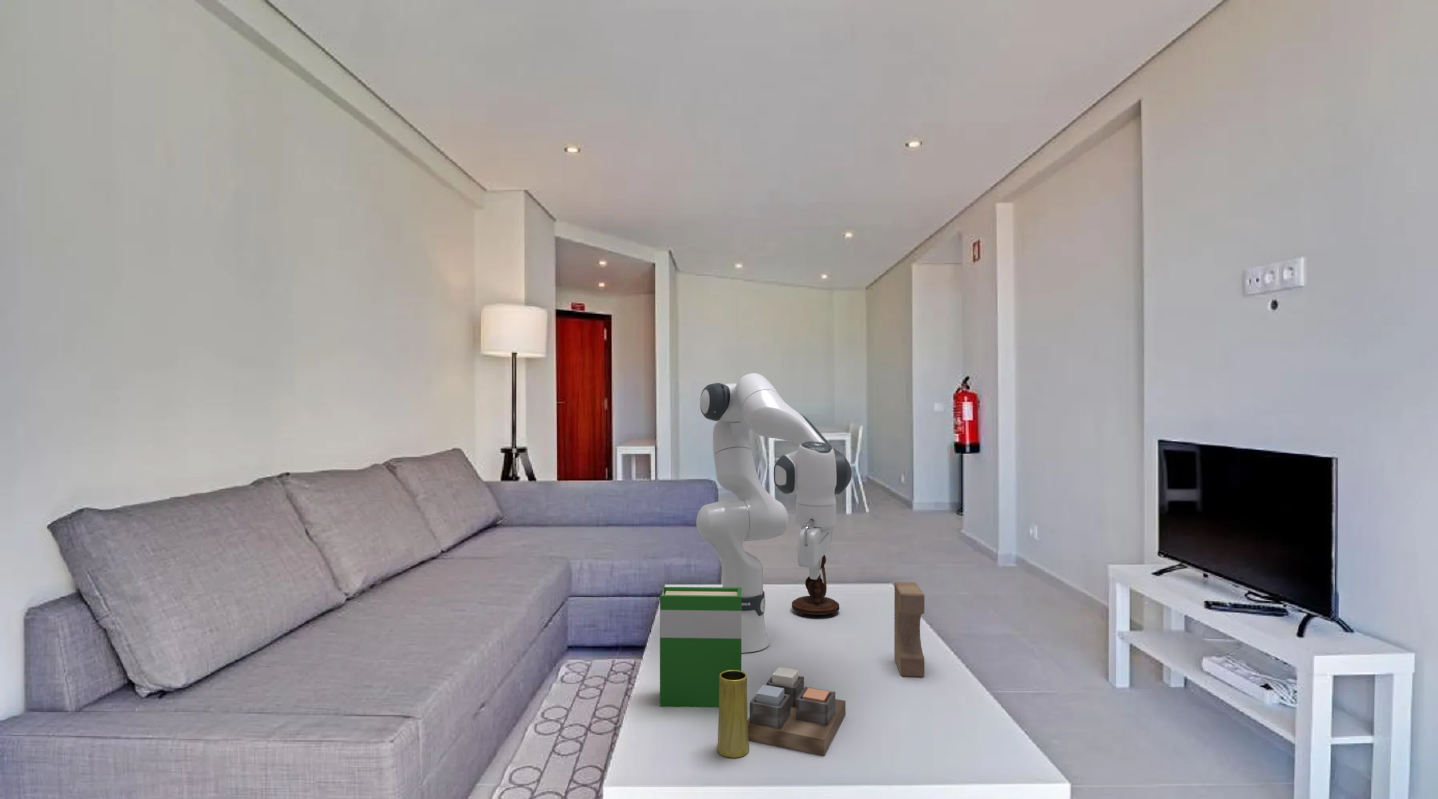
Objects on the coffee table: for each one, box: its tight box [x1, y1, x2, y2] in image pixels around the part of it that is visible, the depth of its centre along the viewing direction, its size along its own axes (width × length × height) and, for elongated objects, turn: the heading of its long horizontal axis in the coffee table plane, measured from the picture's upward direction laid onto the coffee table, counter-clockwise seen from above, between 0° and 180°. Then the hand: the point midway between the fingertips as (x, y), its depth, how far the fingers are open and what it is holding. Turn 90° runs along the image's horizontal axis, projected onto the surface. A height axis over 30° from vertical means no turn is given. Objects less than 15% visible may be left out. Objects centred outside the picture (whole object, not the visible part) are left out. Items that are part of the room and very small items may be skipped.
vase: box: [716, 670, 750, 759], centre depth 131 cm, size 6×6×14 cm
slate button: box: [755, 684, 784, 706], centre depth 137 cm, size 4×4×3 cm
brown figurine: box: [791, 554, 840, 618], centre depth 215 cm, size 15×15×20 cm
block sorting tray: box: [747, 675, 847, 757], centre depth 140 cm, size 16×18×7 cm
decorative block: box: [893, 581, 925, 678], centre depth 170 cm, size 11×6×20 cm, turn 173°
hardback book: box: [659, 586, 742, 709], centre depth 152 cm, size 18×7×24 cm, turn 88°
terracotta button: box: [802, 687, 830, 703], centre depth 138 cm, size 4×4×3 cm
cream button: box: [771, 666, 799, 687], centre depth 146 cm, size 4×4×3 cm
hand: (814, 577), depth 153 cm, fingers closed
